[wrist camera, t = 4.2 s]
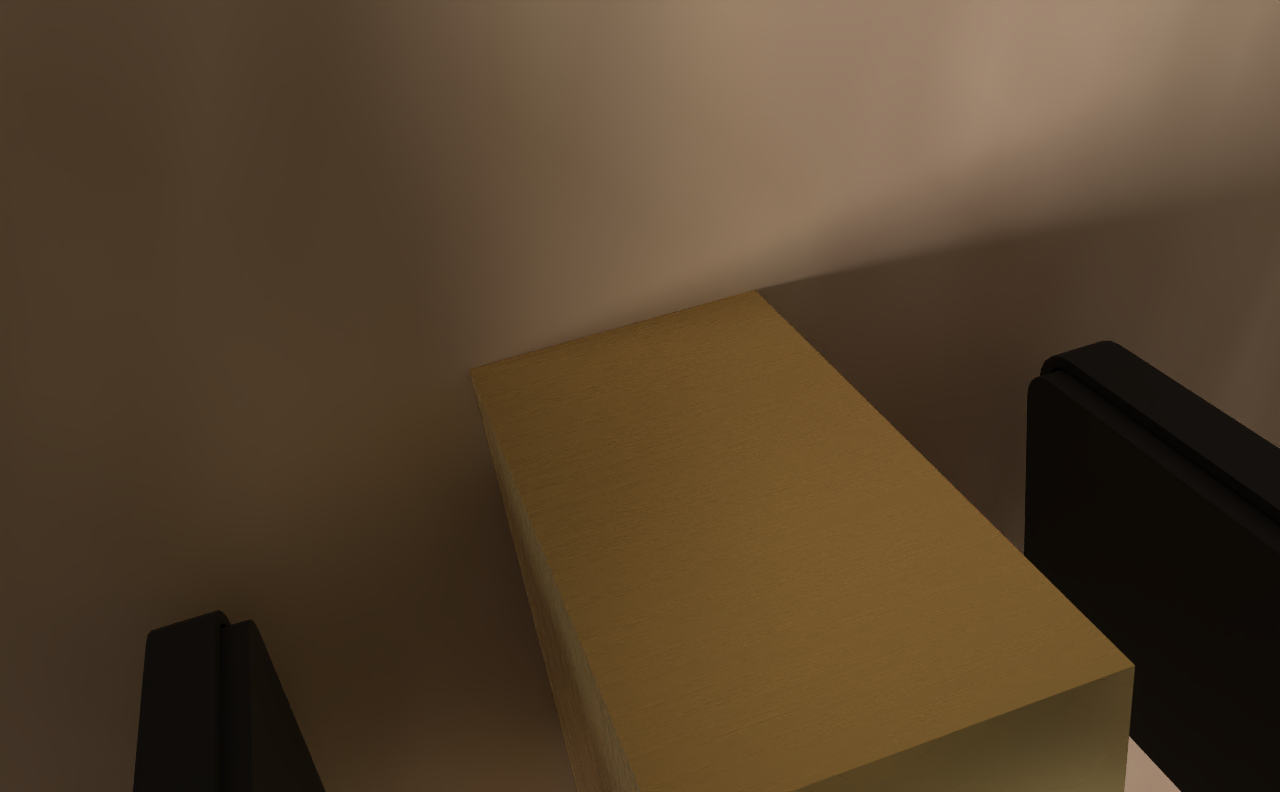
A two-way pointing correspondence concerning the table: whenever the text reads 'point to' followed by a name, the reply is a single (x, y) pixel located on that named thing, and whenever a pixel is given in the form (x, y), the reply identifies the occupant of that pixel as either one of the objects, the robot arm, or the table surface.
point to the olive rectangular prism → (778, 579)
